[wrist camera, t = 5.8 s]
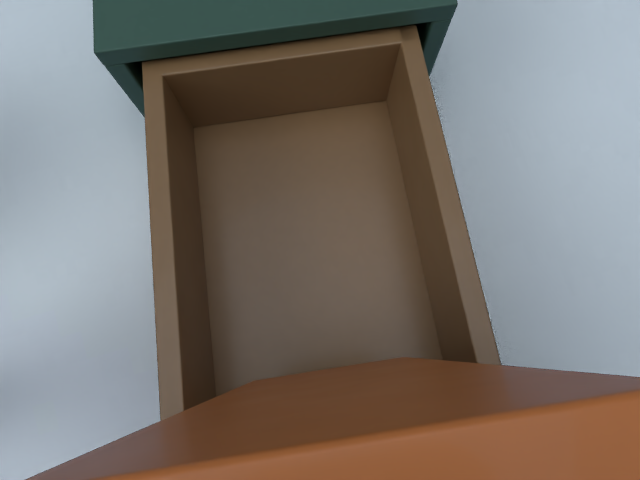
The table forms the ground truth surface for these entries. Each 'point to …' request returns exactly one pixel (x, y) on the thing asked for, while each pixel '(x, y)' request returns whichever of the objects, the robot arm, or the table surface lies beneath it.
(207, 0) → the cabinet
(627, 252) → the table surface
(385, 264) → the drawer
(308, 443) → the orange rectangular prism
